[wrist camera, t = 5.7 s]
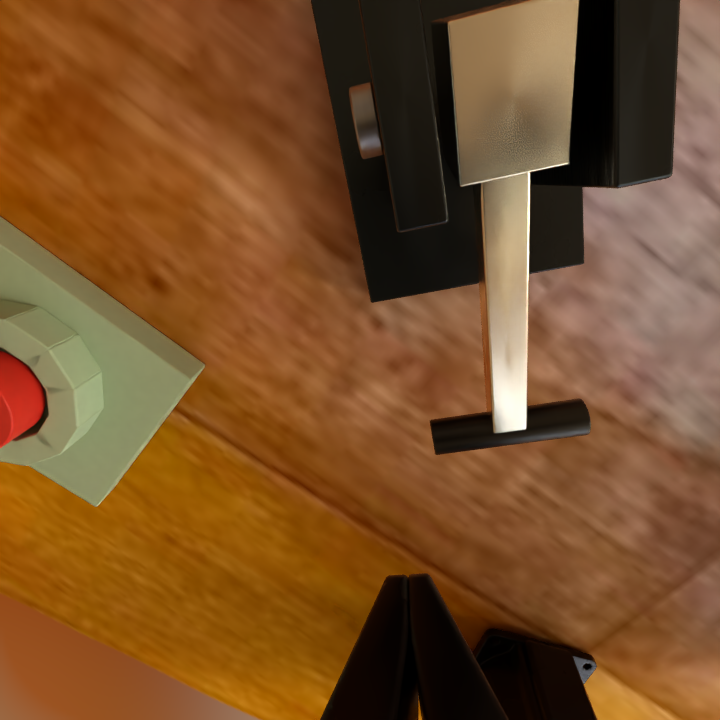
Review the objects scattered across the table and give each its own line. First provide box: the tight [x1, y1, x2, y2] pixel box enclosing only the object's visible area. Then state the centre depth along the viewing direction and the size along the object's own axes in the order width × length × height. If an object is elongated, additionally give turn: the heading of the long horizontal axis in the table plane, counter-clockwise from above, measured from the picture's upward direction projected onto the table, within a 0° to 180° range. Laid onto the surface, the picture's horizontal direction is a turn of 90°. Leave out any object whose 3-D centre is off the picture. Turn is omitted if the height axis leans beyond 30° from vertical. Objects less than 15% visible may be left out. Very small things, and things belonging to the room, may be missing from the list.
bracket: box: [311, 0, 680, 303], centre depth 12 cm, size 11×8×9 cm
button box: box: [0, 216, 205, 507], centre depth 19 cm, size 11×9×4 cm
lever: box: [430, 0, 591, 455], centre depth 12 cm, size 12×5×2 cm, turn 11°
